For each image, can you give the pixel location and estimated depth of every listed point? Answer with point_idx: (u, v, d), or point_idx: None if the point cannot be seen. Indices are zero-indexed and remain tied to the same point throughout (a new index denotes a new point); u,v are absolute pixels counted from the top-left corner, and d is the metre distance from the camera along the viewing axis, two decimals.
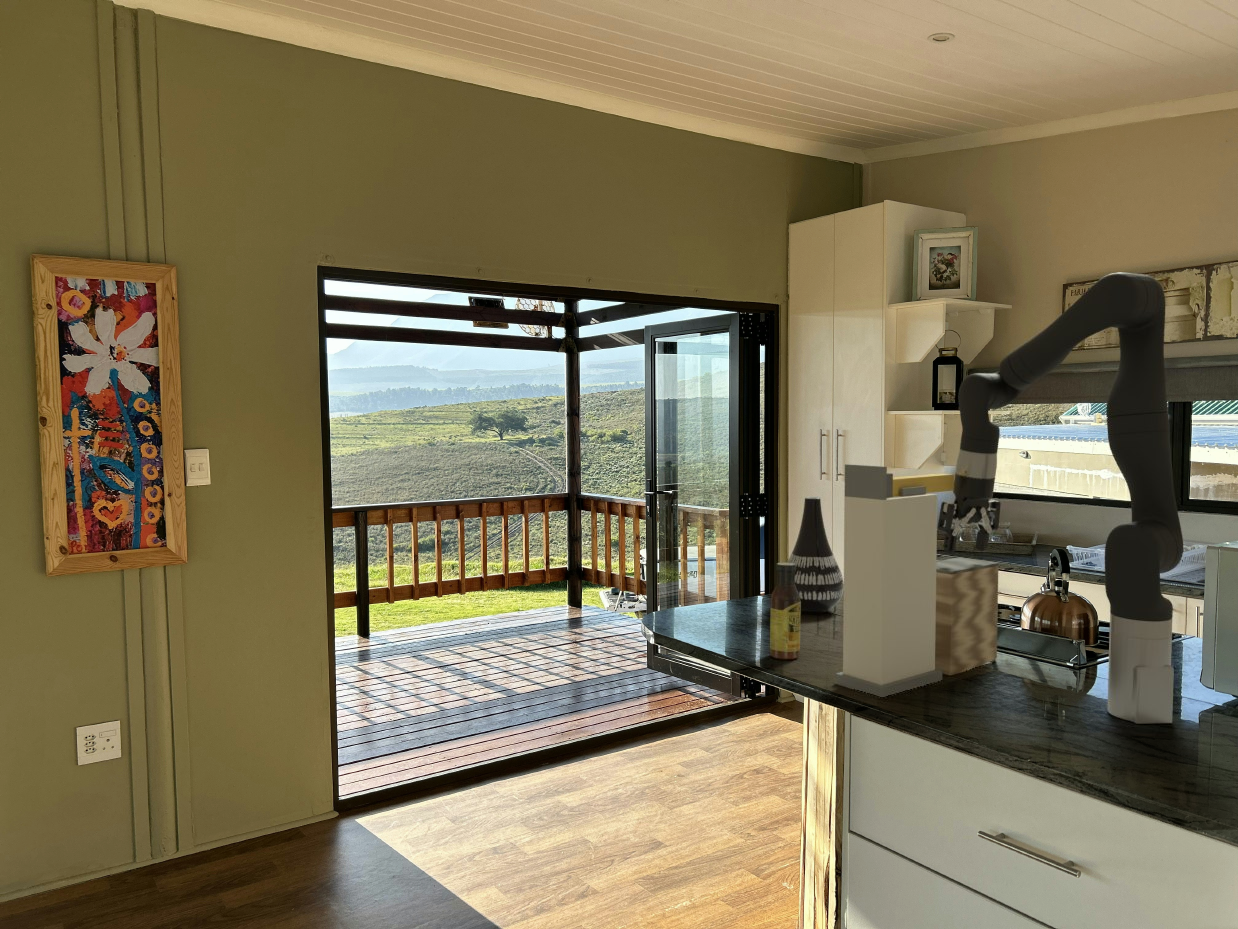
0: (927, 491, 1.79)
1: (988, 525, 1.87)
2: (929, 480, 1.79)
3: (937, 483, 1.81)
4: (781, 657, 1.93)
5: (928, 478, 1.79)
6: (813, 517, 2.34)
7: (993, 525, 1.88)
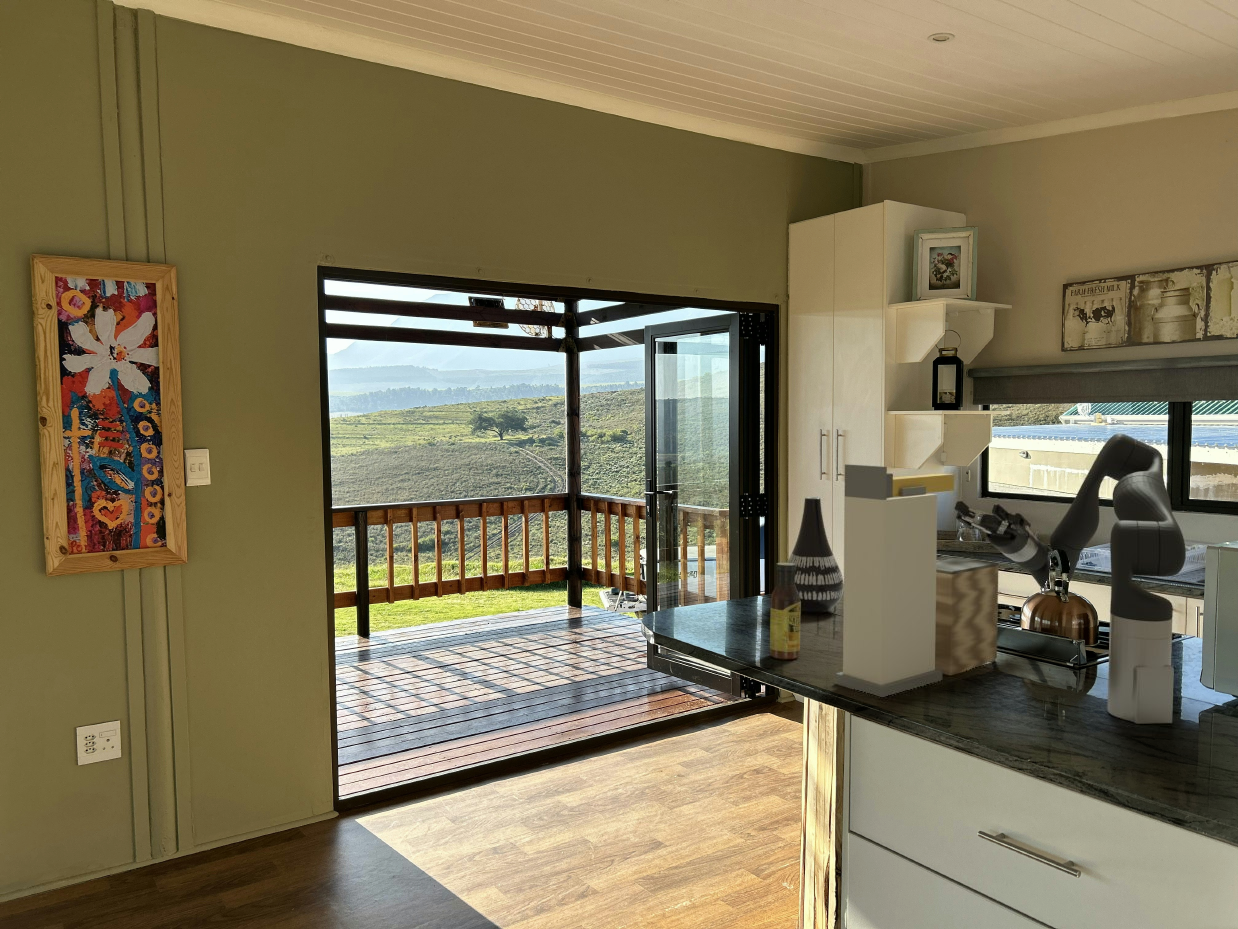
0: (927, 491, 1.79)
1: None
2: (929, 480, 1.79)
3: (937, 483, 1.81)
4: (781, 657, 1.93)
5: (928, 478, 1.79)
6: (813, 517, 2.34)
7: None
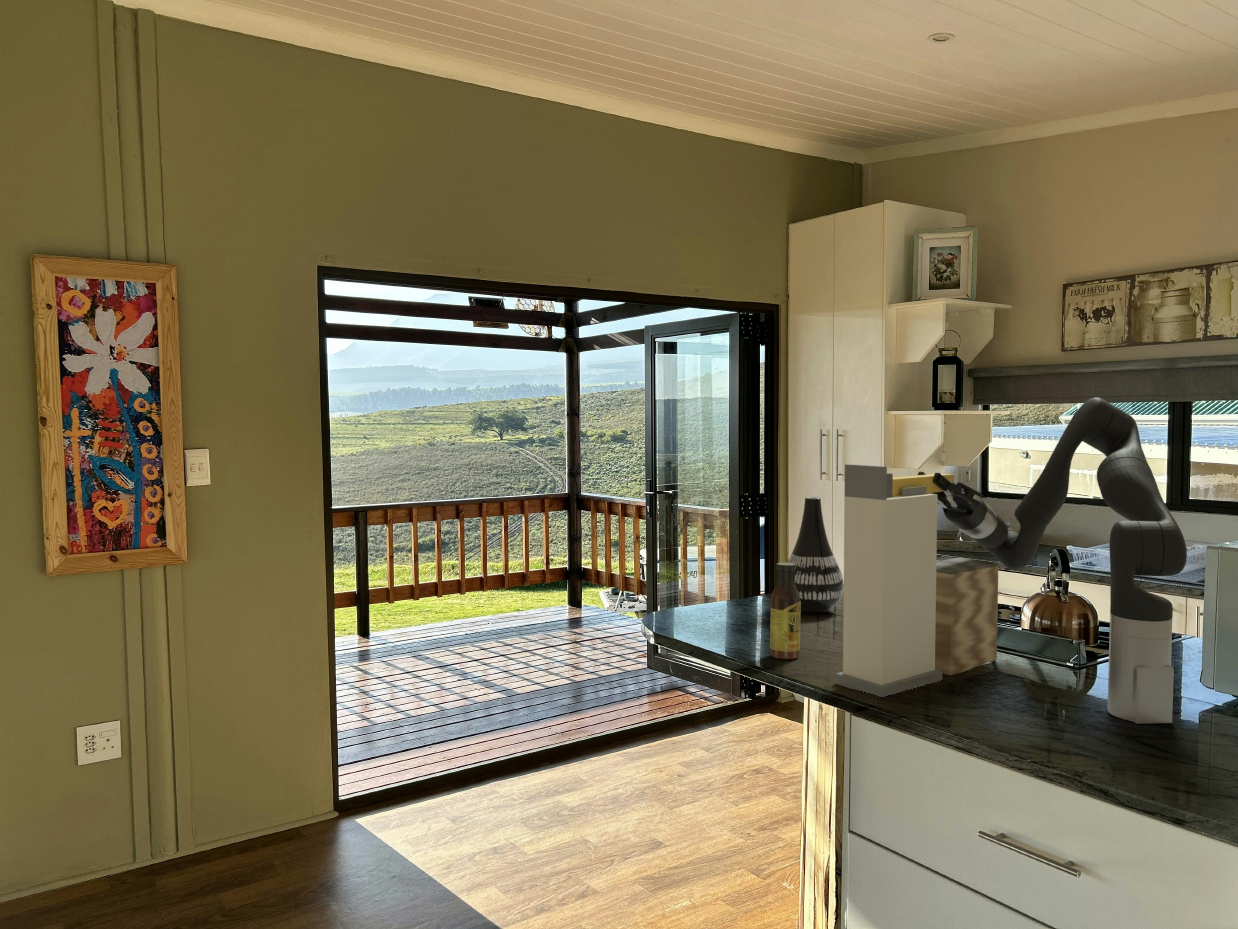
0: (927, 491, 1.79)
1: None
2: (928, 480, 1.79)
3: None
4: (781, 657, 1.93)
5: (927, 478, 1.79)
6: (813, 517, 2.34)
7: None
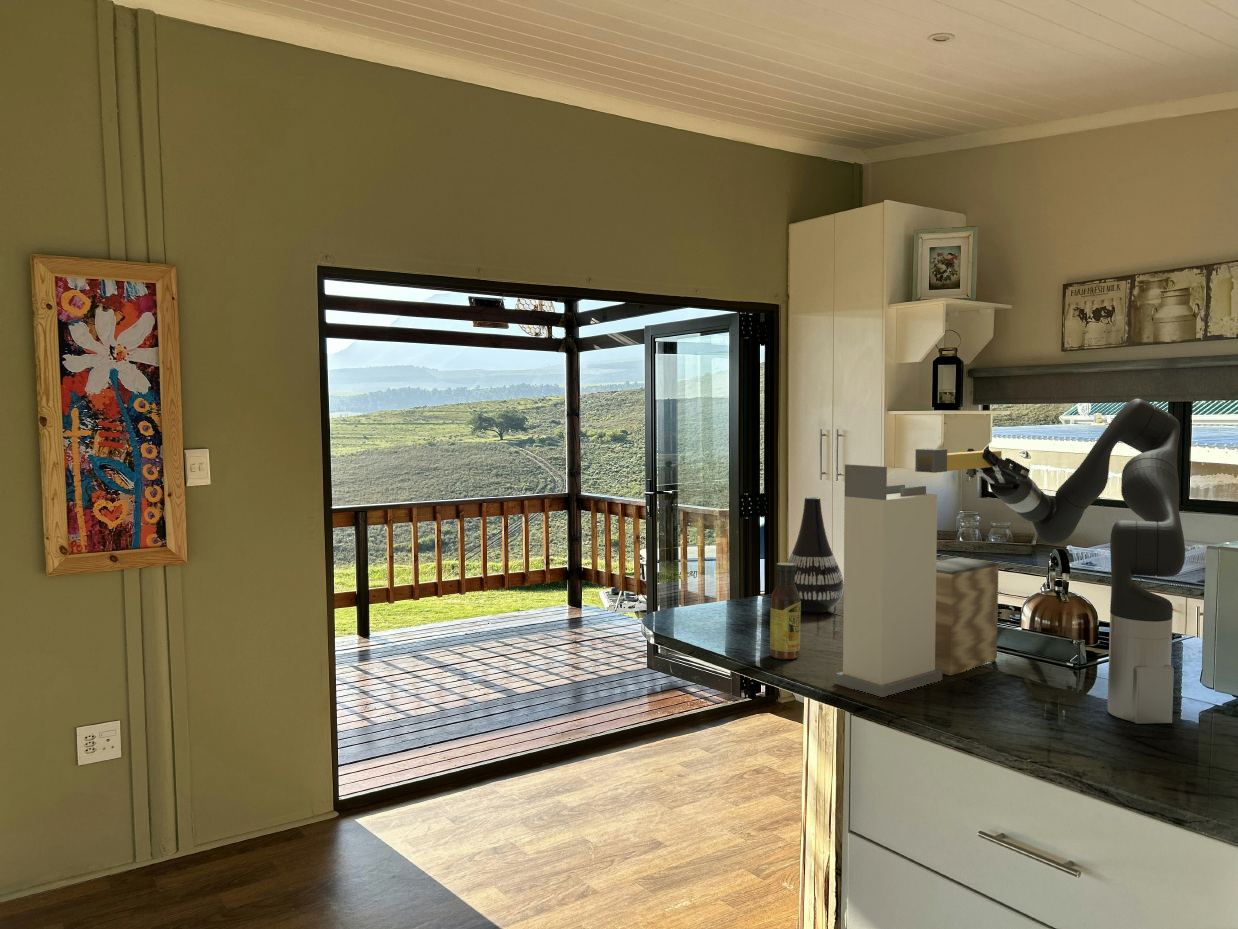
0: (977, 466, 1.89)
1: None
2: (979, 456, 1.89)
3: None
4: (781, 657, 1.93)
5: (978, 454, 1.89)
6: (813, 517, 2.34)
7: None
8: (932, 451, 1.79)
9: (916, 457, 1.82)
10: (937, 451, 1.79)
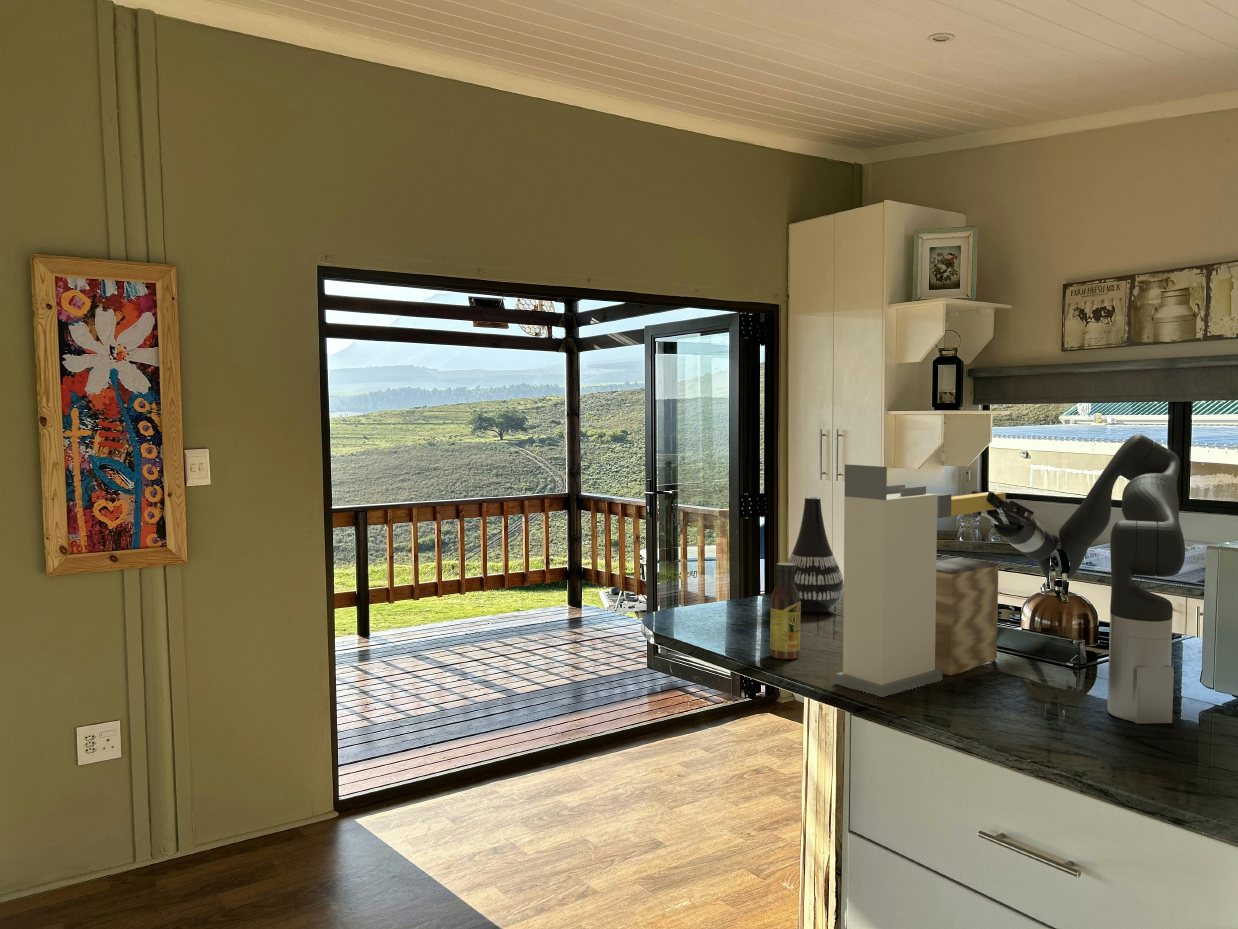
0: (981, 509, 1.90)
1: None
2: (983, 499, 1.90)
3: None
4: (781, 657, 1.93)
5: (982, 497, 1.90)
6: (813, 517, 2.34)
7: None
8: None
9: None
10: (941, 497, 1.81)
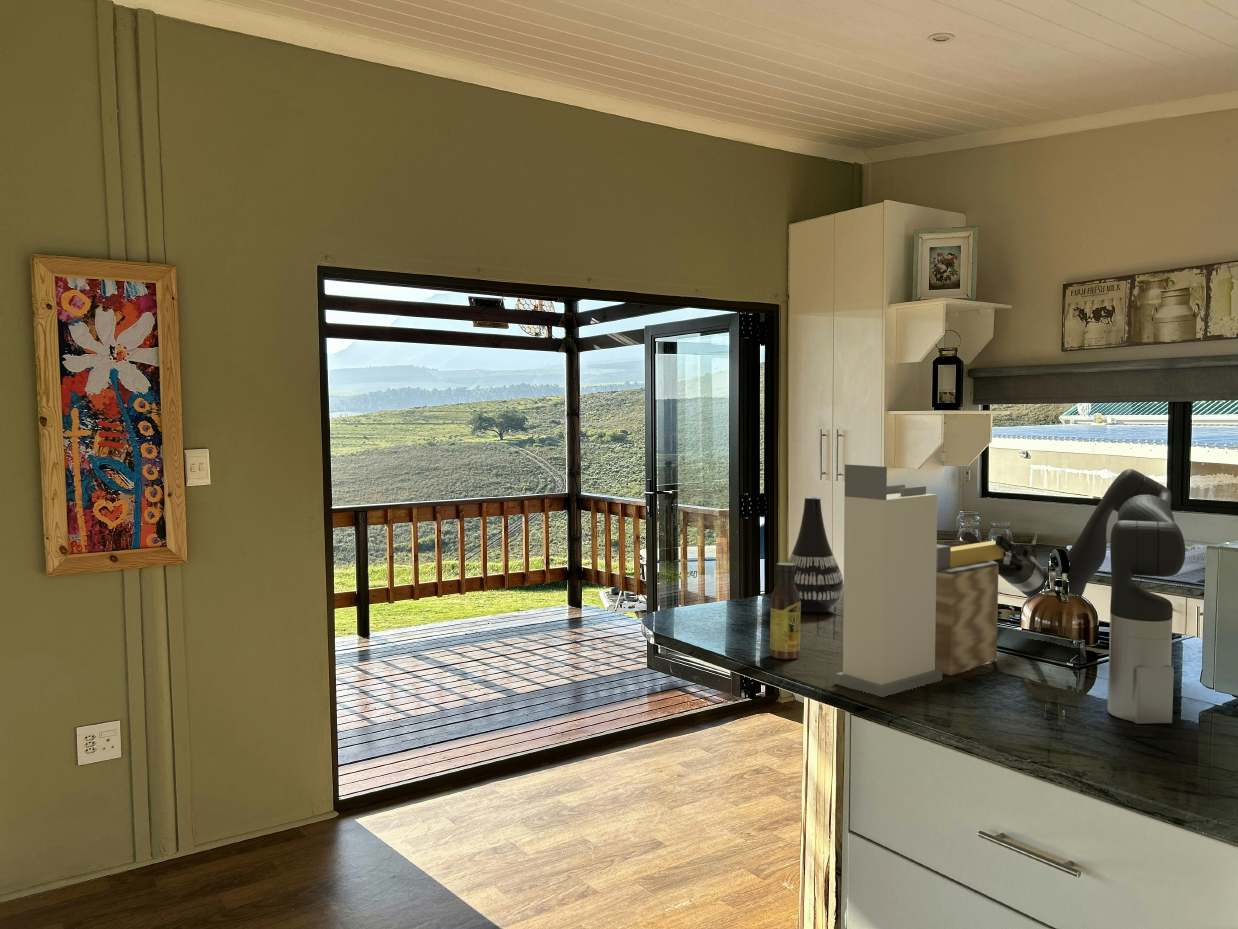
0: (981, 560, 1.91)
1: None
2: (983, 549, 1.91)
3: (990, 552, 1.92)
4: (781, 657, 1.93)
5: (982, 548, 1.91)
6: (813, 517, 2.34)
7: None
8: None
9: None
10: (940, 549, 1.82)
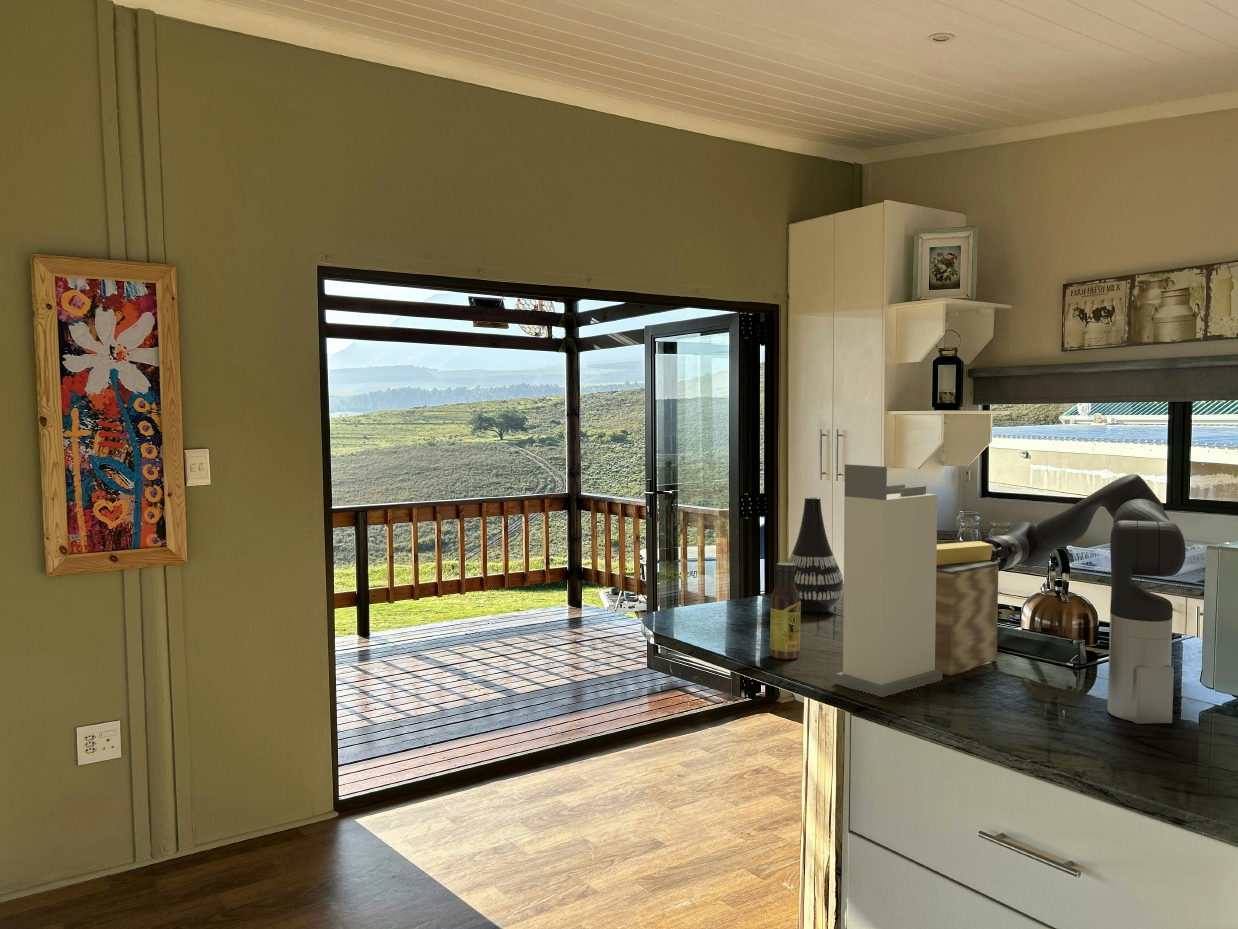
0: (965, 560, 1.89)
1: None
2: (969, 550, 1.89)
3: (975, 553, 1.91)
4: (781, 657, 1.93)
5: (968, 549, 1.89)
6: (813, 517, 2.34)
7: None
8: None
9: None
10: None
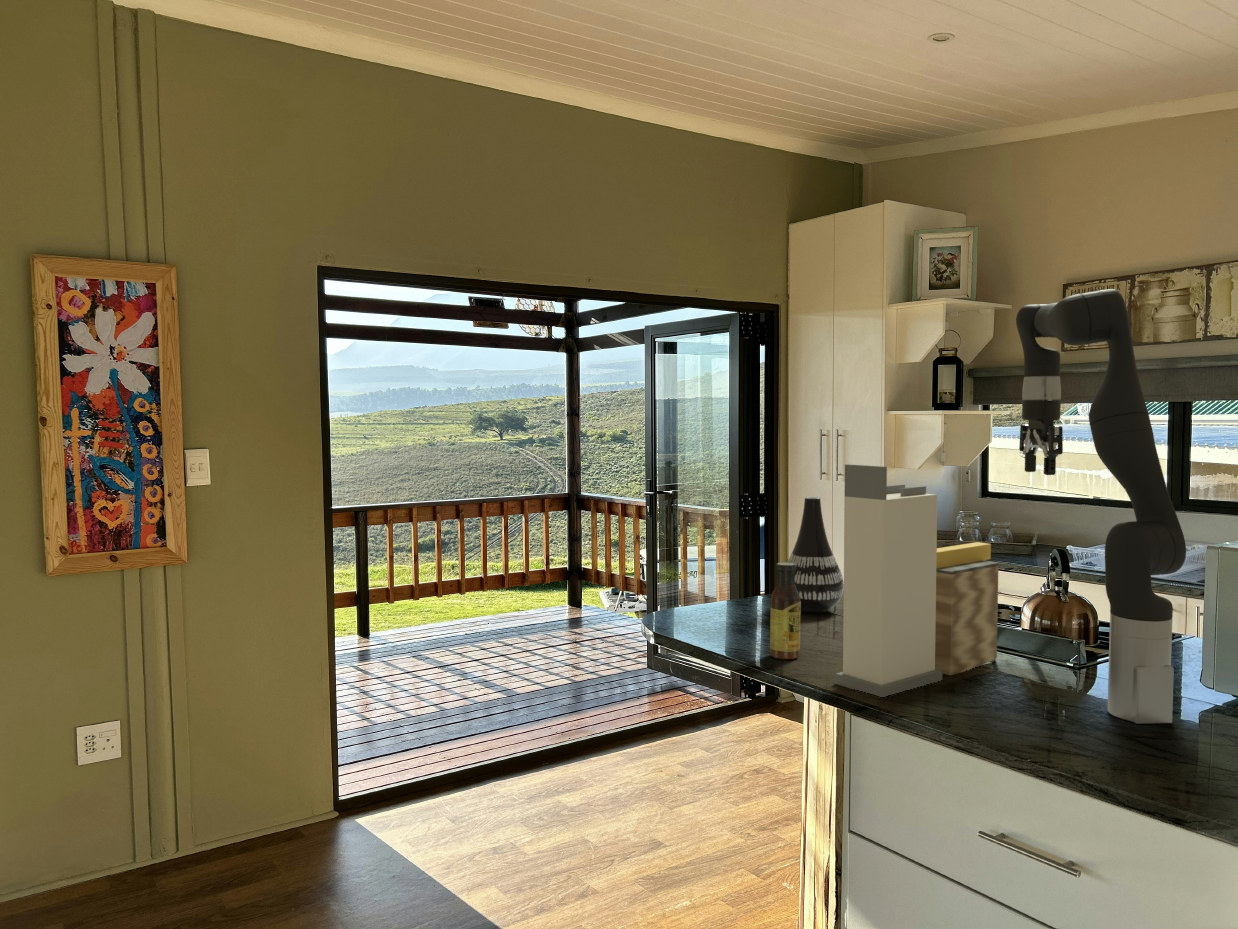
0: (966, 561, 1.89)
1: (1044, 448, 1.95)
2: (967, 551, 1.89)
3: (975, 553, 1.91)
4: (781, 657, 1.93)
5: (966, 549, 1.89)
6: (813, 517, 2.34)
7: None
8: None
9: None
10: None
